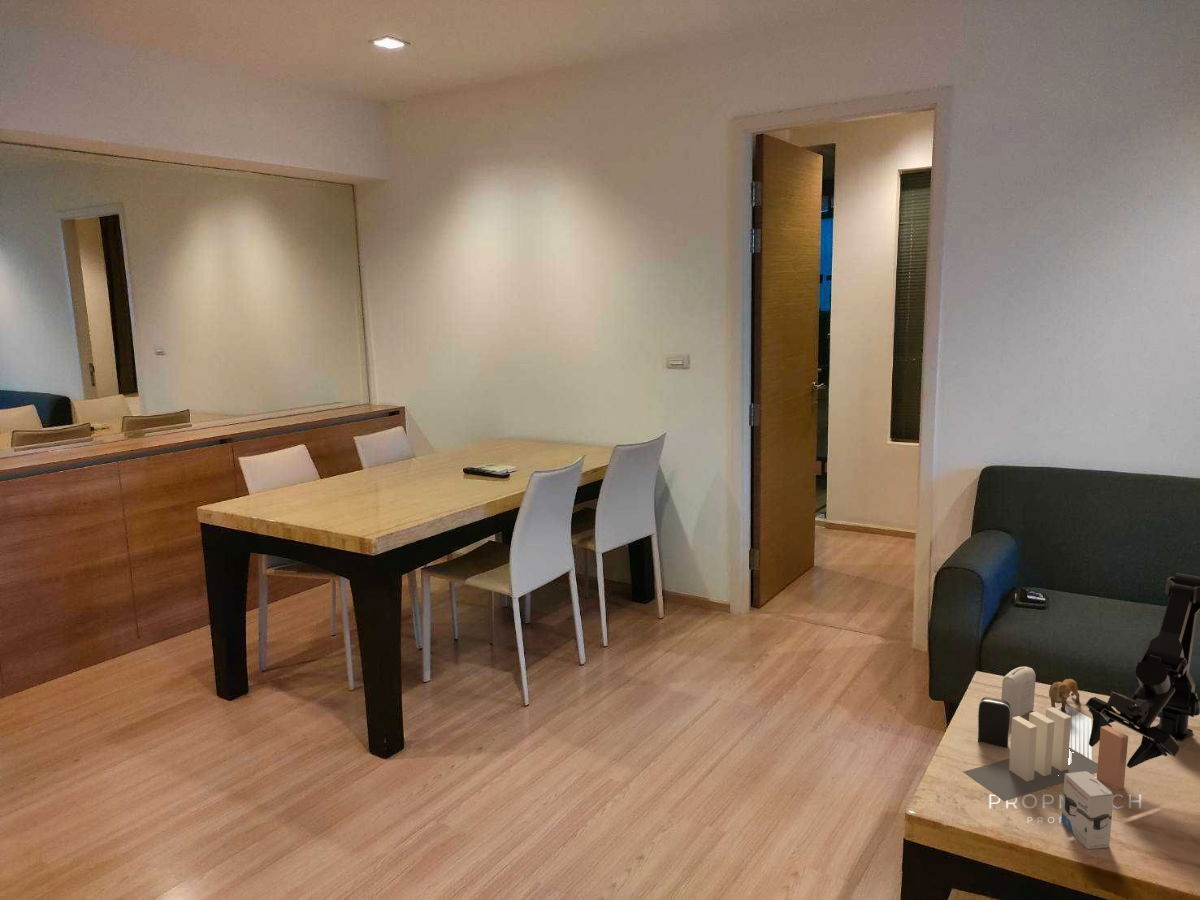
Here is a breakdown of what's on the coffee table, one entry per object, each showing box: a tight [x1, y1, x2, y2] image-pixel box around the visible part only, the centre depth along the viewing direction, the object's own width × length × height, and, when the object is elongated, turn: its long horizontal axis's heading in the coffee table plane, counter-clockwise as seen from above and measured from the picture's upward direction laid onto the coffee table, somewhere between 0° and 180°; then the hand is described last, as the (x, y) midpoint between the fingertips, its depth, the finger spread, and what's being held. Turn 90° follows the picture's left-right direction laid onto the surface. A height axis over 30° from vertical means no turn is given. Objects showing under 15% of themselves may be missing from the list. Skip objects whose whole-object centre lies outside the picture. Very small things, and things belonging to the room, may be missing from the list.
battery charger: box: [977, 696, 1011, 749], centre depth 201 cm, size 7×4×11 cm, turn 60°
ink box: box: [1061, 771, 1114, 850], centre depth 167 cm, size 8×5×12 cm, turn 5°
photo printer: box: [1000, 666, 1037, 720], centre depth 215 cm, size 10×4×12 cm, turn 123°
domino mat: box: [963, 746, 1098, 802], centre depth 190 cm, size 30×12×1 cm, turn 110°
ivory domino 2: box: [1028, 711, 1055, 776], centre depth 189 cm, size 2×5×13 cm, turn 19°
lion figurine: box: [1048, 678, 1081, 714], centre depth 217 cm, size 15×5×9 cm, turn 137°
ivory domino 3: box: [1045, 706, 1072, 771], centre depth 190 cm, size 2×5×13 cm, turn 20°
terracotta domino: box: [1096, 725, 1129, 791], centre depth 183 cm, size 2×5×13 cm, turn 20°
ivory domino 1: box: [1009, 716, 1037, 781], centre depth 187 cm, size 2×5×13 cm, turn 20°
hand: (1108, 756), depth 182 cm, fingers open, 9 cm apart
